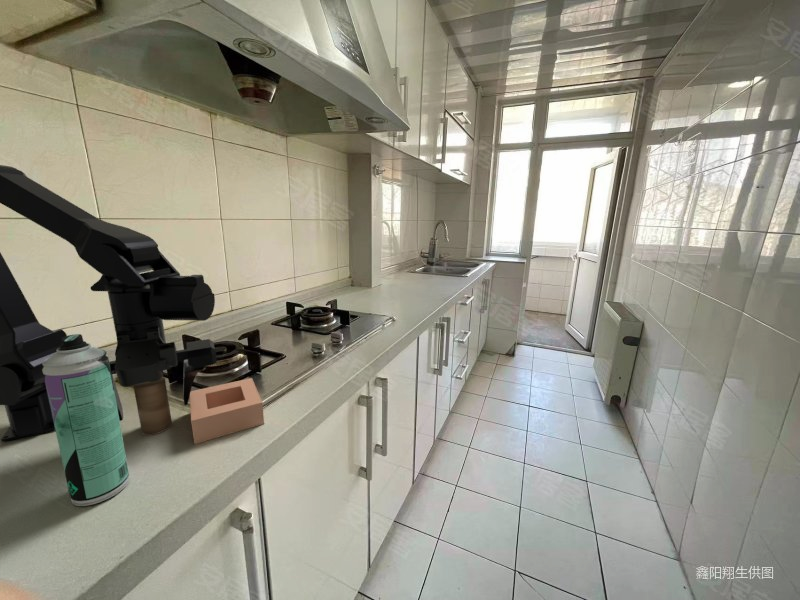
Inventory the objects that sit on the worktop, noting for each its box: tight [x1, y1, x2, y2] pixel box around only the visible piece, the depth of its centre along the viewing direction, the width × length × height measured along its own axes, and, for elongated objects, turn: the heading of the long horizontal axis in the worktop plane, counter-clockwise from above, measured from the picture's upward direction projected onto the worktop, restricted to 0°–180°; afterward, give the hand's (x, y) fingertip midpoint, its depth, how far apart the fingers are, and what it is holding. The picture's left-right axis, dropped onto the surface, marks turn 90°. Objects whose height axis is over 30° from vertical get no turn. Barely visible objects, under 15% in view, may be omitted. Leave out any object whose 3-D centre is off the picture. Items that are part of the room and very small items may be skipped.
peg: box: [132, 376, 173, 436], centre depth 52 cm, size 4×4×8 cm
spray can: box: [42, 333, 130, 507], centre depth 39 cm, size 6×6×20 cm
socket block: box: [189, 377, 265, 445], centre depth 56 cm, size 10×10×4 cm
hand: (155, 411), depth 53 cm, fingers open, 8 cm apart
